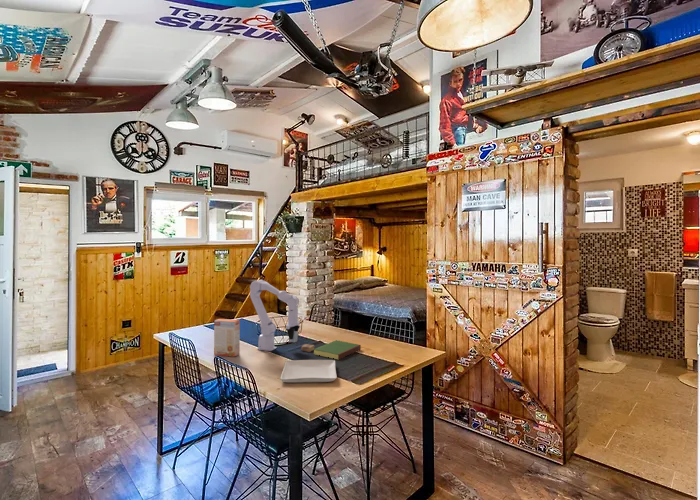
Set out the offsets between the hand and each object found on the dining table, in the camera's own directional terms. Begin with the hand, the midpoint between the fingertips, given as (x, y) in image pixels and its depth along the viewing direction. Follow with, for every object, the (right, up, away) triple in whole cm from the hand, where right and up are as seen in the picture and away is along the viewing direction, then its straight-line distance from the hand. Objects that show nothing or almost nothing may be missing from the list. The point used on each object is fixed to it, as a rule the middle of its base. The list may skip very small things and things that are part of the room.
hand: (292, 338), depth 236 cm
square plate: (+15, -10, -41) cm, 44 cm away
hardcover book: (+28, -9, -1) cm, 30 cm away
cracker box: (-38, -8, -9) cm, 40 cm away
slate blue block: (0, -2, 0) cm, 2 cm away
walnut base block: (+9, -8, +2) cm, 13 cm away
